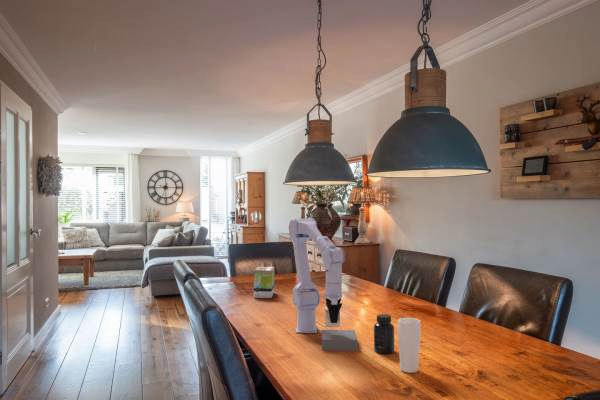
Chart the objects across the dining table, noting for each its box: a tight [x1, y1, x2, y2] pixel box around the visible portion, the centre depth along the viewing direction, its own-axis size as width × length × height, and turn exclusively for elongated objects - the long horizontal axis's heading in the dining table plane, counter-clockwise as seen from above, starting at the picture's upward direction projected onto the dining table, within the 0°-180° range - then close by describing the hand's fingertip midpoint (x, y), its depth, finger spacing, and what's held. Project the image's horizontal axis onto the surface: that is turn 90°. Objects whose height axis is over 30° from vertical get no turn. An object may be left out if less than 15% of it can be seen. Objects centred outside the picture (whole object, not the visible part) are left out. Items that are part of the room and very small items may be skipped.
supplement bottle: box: [373, 313, 395, 355], centre depth 151 cm, size 7×7×12 cm
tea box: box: [253, 266, 276, 299], centre depth 242 cm, size 15×10×15 cm, turn 179°
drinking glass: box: [397, 317, 422, 374], centre depth 134 cm, size 7×7×15 cm
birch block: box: [324, 308, 341, 328], centre depth 157 cm, size 5×5×5 cm
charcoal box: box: [321, 329, 358, 352], centre depth 157 cm, size 12×12×4 cm
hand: (333, 320), depth 157 cm, fingers closed on birch block, 5 cm apart
